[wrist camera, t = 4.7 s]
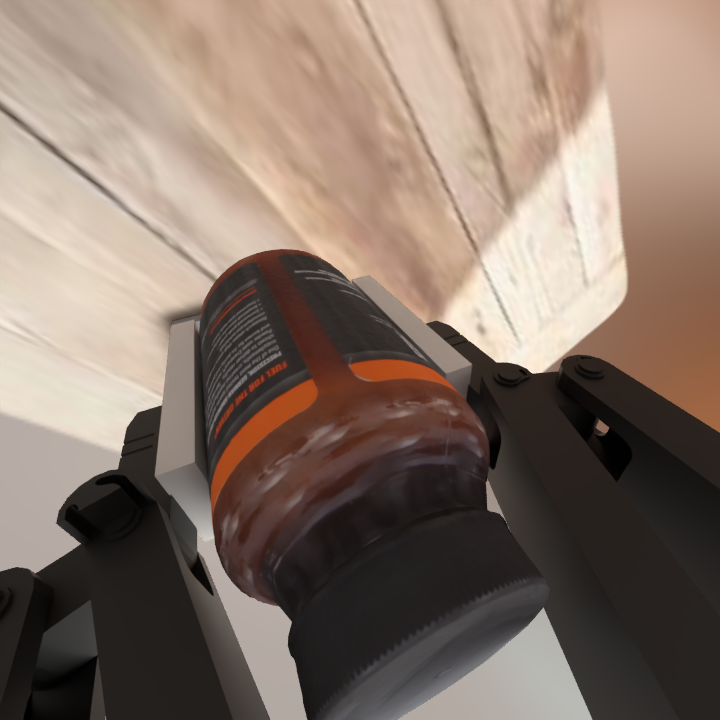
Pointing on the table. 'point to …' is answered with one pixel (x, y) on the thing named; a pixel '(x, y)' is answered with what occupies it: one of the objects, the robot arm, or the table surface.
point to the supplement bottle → (352, 491)
